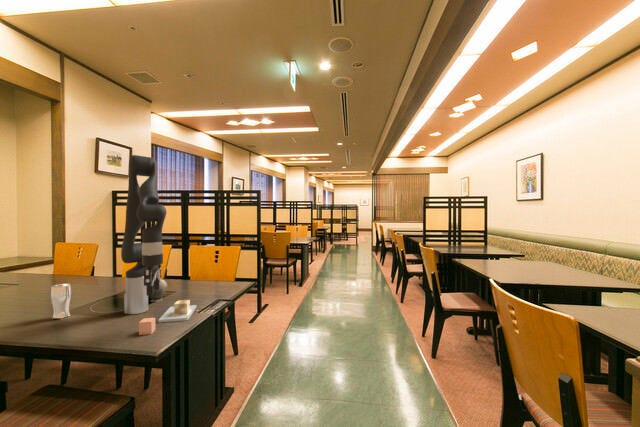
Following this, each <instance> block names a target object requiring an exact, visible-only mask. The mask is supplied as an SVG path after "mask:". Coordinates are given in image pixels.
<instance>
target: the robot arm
mask: <svg viewBox="0 0 640 427" xmlns="http://www.w3.org/2000/svg"><path fill="white" fill-rule="evenodd" d="M138 177H148V178H147V179H146V180H145V181H144V182H142V183H141V185H139V182H138ZM159 203H160V197H159V193H158V163H157V160H156V159H155V158H154V157H150V156H144V155H136V154H132V155H131V156H130V157H129V163H128V191H127V200H126V208H125V225H124V233H123V238H122V245H121V250H120V252H121V253H120V257H121V261H122V262H123V263H124V264H134V263H136V264H135V265H134V266H133V267H131V268H129V269H128V270H126V271H125V293H124V294H123V302H124V303H123V305H124V306H123V308H124V309H123V310H124V312H123V313H124V314H126V315H135V314H143V313H144V312H147V311H149V297H150V295H153V289H154V290H159V289H160V283H159V280H160V279H162V265H163V263H164V248H163V247H164V246H163V227H164V223H165V220H166V217H167V209H166V207H165V206H164V205H163V204H159ZM146 222H147V223H149V222H150V223H151V222H156V223H155V224H154V225H153V226H149V227H145V228H143V229H142V227H144V225H145V224H146ZM141 229H142V232H141V233H142V234H141V236H142V238H141V239H142V242H135V241H136V238H137V235H138V233H139V232H140V230H141Z"/></svg>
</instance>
